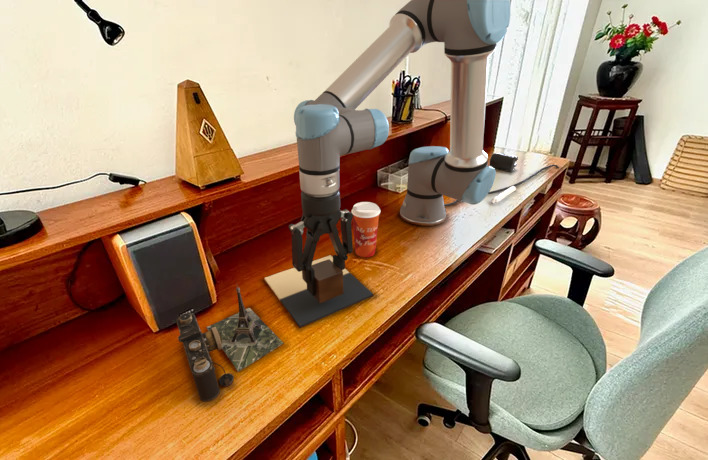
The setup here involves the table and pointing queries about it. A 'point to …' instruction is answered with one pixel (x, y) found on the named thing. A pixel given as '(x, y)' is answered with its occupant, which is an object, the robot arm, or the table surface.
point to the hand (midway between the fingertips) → (324, 286)
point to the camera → (202, 356)
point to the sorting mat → (304, 304)
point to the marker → (503, 194)
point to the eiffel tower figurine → (245, 336)
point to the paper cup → (365, 228)
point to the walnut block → (327, 280)
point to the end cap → (503, 162)
